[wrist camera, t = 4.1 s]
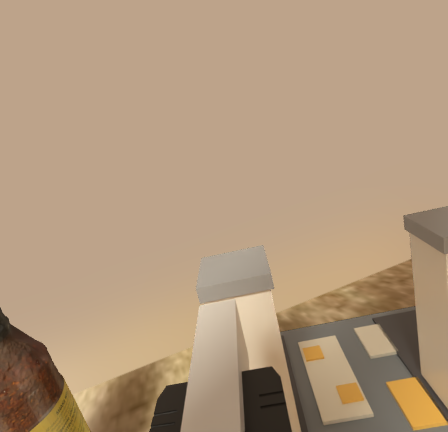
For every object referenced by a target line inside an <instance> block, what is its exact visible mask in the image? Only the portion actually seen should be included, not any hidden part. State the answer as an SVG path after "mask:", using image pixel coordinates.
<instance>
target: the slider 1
mask: <svg viewBox="0 0 448 432" xmlns="http://www.w3.org/2000/svg"><path fill="white" fill-rule="evenodd" d="M271 289H274V285H273V281H272V276H271V272H270V268H269V264H268V261H267V257H266V254H265V250H264V247H263V245H262V246H257V247H252V248H247V249H243V250H238V251H233V252H229V253H224V254H219V255H214V256H210V257H205V258H202V259H201V264H200V269H199V275H198V280H197V286H196V290H197V294H198V298H199V301H200V303H204V304H205V305H207V304H212V303H217V302H222V301H228V300H233V299H235V300H236V305H237V309H238V313H239V317H240V321H241V326H242V330H243V334H244V338H245V343H246V347H247V351H248V356H249V368H250V370H253V369H258V368H264V367H270V366H272V367H273V368H274V369H275V371H276V372H277V373H278V374H279V375H280V377H281V381H282V386H283V391H284V395H285V400H286V405H287V410H288V414H289V419H290V424H291V429H292V432H301V428H300V424H299V419H298V414H297V410H296V405H295V400H294V396H293V391H292V386H291V382H290V377H289V372H288V368H287V363H286V358H285V354H284V349H283V344H282V340H281V335H280V330H279V326H278V321H277V316H276V312H275V307H274V302H273V298H272V293H271Z"/></svg>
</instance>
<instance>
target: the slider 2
mask: <svg viewBox="0 0 448 432" xmlns="http://www.w3.org/2000/svg"><path fill="white" fill-rule="evenodd" d="M404 227H405V230H407V231H408V232H409V233H410V246H411V258H412V270H413V282H414V294H415V306H416V318H417V330H418V342H419V354H420V365H421V374H422V376H423V377H424V378H425V379H426V381H427V382H428V383H429V385H430V386H431V387H432V389H433V390H434V391H435V393H436V394H437V395H438V397H439V398H440V399H441V401H442V402H443V403H444V405H445V406H446V407H447V409H448V206H446V207H442V208H437V209H432V210H428V211H423V212H418V213H413V214H408V215H404Z"/></svg>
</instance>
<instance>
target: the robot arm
mask: <svg viewBox="0 0 448 432" xmlns="http://www.w3.org/2000/svg"><path fill="white" fill-rule="evenodd" d="M149 432H292V429H291V424H290V419H289V414H288V410H287V405H286V400H285V395H284V391H283V386H282V381H281V377H280V375H279V374H278V373H277V372H276V371H275V369H274V368H273V367H272V366H270V367H264V368H258V369H253V370H250V368H249V356H248V351H247V347H246V343H245V338H244V334H243V330H242V326H241V321H240V317H239V313H238V309H237V305H236V300H235V299H233V300H228V301H222V302H217V303H212V304H207V305H202V306H199V312H198V320H197V326H196V332H195V339H194V345H193V352H192V359H191V365H190V372H189V378H188V382H185V383H179V384H174V385H168V386H166V388H165V389H164V390H163V392H162V393H161V395H160V396H159V398H158V399H157V403H156V407H155V411H154V417H153V419H152V423H151V429H150V431H149Z"/></svg>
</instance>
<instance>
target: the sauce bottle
mask: <svg viewBox="0 0 448 432" xmlns="http://www.w3.org/2000/svg"><path fill="white" fill-rule="evenodd" d="M0 432H91V431H90V429H89V427H88V425H87V423H86V421H85V419H84V417H83V415H82V413H81V411H80V409H79V407H78V405H77V403H76V401H75V399H74V397H73V395H72V394H71V392H70V390H69V388H68V386H67V384H66V382H65V380H64V378H63V376H62V375H61V374H60V373H59V372H58V370H57V368H56V366H55V365H54V363H53V361H52V359H51V356H50V355H49V353H48V351H47V348H46V347H45V345H44V344H43V343H41V342H39V341H37V340H35V339H33V338H32V337H30V336H28V335H27V334H25V333H24V332H22V331H20V330H19V329H17V328H16V327H14V326H13V325H11V324H10V323H9V319H8V318H7V317H6V316H5V315H4V314H3V313H2V310H1V308H0Z"/></svg>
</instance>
